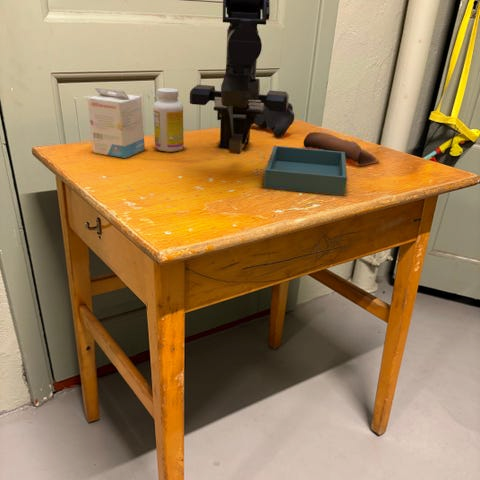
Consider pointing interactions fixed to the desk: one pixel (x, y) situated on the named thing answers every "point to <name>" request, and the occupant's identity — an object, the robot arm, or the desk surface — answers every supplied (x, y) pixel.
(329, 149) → the sunglasses case
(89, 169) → the desk surface
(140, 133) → the ink box
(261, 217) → the desk surface
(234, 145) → the brown and grey bar
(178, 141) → the supplement bottle
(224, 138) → the robot arm
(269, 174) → the cutlery tray
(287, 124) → the game controller
